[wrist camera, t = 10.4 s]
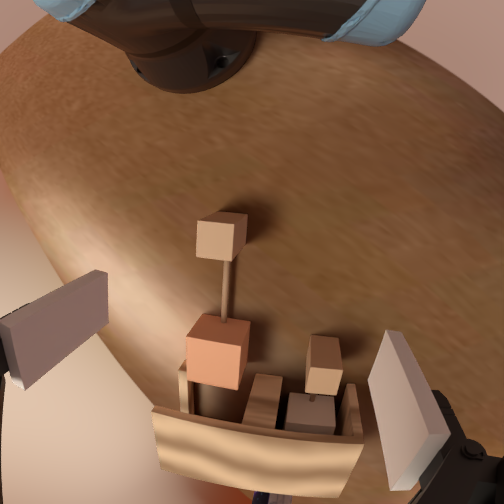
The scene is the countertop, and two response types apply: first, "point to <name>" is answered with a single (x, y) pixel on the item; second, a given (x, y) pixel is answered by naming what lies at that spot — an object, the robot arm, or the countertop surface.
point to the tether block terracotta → (221, 328)
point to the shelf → (258, 444)
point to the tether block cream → (317, 389)
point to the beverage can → (271, 498)
